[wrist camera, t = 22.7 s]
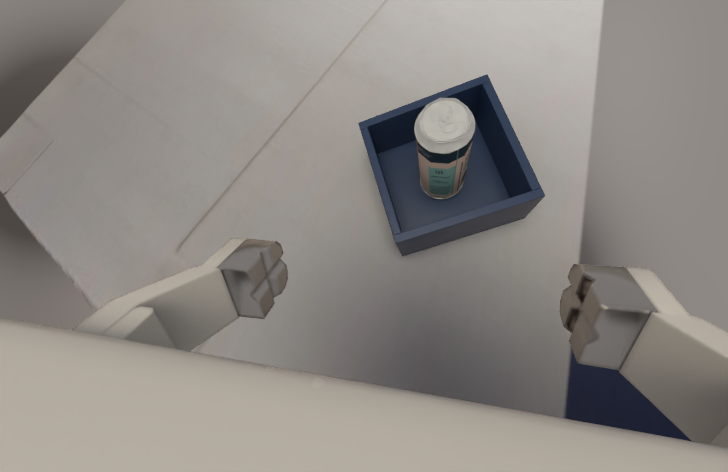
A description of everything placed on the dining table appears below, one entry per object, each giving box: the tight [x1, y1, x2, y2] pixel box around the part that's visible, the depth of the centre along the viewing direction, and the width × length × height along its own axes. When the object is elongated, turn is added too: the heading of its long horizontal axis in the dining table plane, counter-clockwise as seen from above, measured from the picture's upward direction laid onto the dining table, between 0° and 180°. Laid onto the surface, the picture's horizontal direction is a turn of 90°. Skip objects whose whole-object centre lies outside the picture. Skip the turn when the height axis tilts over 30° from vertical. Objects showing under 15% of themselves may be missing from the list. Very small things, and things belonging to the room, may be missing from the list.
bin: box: [359, 75, 545, 256], centre depth 34 cm, size 14×14×7 cm
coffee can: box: [414, 98, 475, 199], centre depth 30 cm, size 5×5×12 cm
